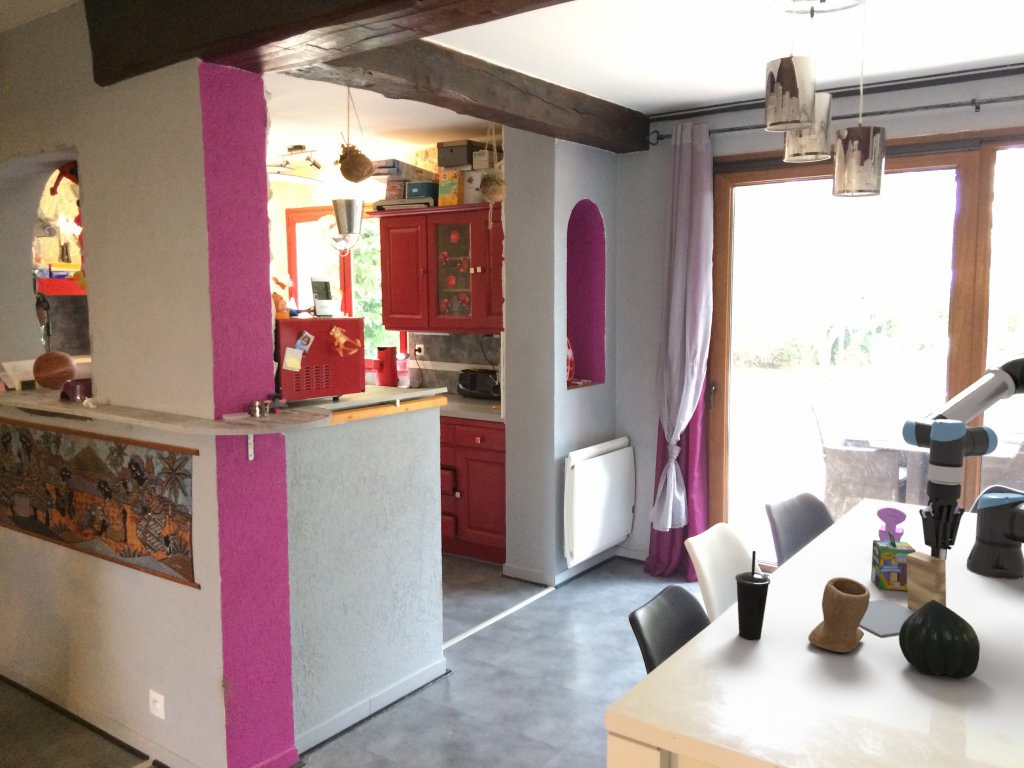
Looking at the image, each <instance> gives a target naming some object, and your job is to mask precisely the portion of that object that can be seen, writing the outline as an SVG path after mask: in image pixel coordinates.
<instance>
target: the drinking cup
mask: <svg viewBox="0 0 1024 768" xmlns="http://www.w3.org/2000/svg"><path fill="white" fill-rule="evenodd" d="M751 553H752V555H751V556H752V557H751V571H745V572H741V573H738V574H736V575H735V577H734V578H735V581H736V593H737V598H736V599H737V616H738V619H737V620H738V635H739V637H741V638H742V639H744V640H749V641H758V640H761V637H762V632H763V624H764V618H765V612H766V605H767V598H768V591H769V585H771V579H770V578H769V577H768V576H765V575H763V573H759V572H756V570H755V569H756V551H755V550H752V552H751Z"/></svg>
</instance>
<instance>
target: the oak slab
mask: <svg viewBox="0 0 1024 768" xmlns="http://www.w3.org/2000/svg"><path fill="white" fill-rule="evenodd" d="M946 564H947V563H946V561H945V560H942V559H939V558H936V557H933V556H931V554H927V553H925V552H922V551H916V552H914V553H911V554H907V608H909V609H911V610H913V611H915V612H916V611H917V610H918V609H920V608H921V607H922V606H923V605H924V604H926V603H927V602H929V601H931V600H935V601H937V602H939V603H941V604H943V605H944V606H946V607H947V580H946V579H947V578H946V577H947V575H946V571H947V570H946V569H947V568H946V567H947V566H946Z"/></svg>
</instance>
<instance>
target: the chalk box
mask: <svg viewBox="0 0 1024 768" xmlns="http://www.w3.org/2000/svg"><path fill="white" fill-rule="evenodd" d="M888 534H889V538H890V541H880V539H879V540H876V539H873V541H872V553H871V554H872V556H871V575H870V580H872V582H873V584H875V586H876V587H877V589H878V588H879V590H892V591H905V592H906V591H907V554H911V553H914V552H917V551H916V549H915V548H913V547H912V546H911V545H910V544H909V543H908V542H905V541H900V542H896V541H895V540H894V536H893V534H892V533H891V532H890V531H888ZM891 537H892V538H891ZM892 539H893V541H892ZM907 592H908V591H907Z"/></svg>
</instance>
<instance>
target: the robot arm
mask: <svg viewBox="0 0 1024 768" xmlns="http://www.w3.org/2000/svg"><path fill="white" fill-rule="evenodd" d="M1019 394H1020V395H1021V394H1024V353H1021V354H1016V355H1013V356H1010V357H1008V358H1005V359H1003V360H1001V361H998V362H997V363H995V364H993V365H992V366H990V367H988V368H987V369H986V370H985V371H983V372H982V374H981V375H980V378H979V379H978V380H976V381H975V382H973V384H971V385H969V386H968V387H967V388H965V389H964V390H962V391H961V392H959V393H958V394H957V395H955V396H953V397H952V398H951V399H950V400H948V401H946V403H944V404H942V405H941V406H939V408H936V410H934V411H933V412H931V413H930V414H929V415H927V416H925V417H924V418H921V417H916V418H915V417H911V418H909V419H907V420H906V421H905V423H904V424H903V426H902V432H901V433H902V437H903V440H904V442H905V443H907V444H908V445H912V446H915V447H917V448H925V449H929V459H928V470H927V471H928V472H927V479H928V481H927V482H926V495H927V496H928V502H927V505H926V506H927V507H925V508H924V509H922V508H921V509H919V512H918V513H919V515H920V517H921V525H922V531H923V539H924V540H923V542H924V545H926V546H928V547H930V556H933V557H936V558H939V559H942V560H945V562H946V560H947V556H948V555H947V554H948V550H949V551H950V550H952V548H953V547H952V546H955V543H956V539H957V535H958V531H959V528H960V525H961V520H962V517H963V515H964V513H965V511H966V509H965V508H962V507H960V506H959V503H958V500H959V499H961V495H962V494H961V493H962V485H961V484H960V483H962V481H963V469H964V467H963V466H964V458H966V457H967V458H968V457H981V456H982V457H984V456H985V455H991V453H993V452H994V451H995V450H996V449H997V447H998V442H999V439H998V435H997V434H996V432H995V430H993V429H992V428H990V427H988V426H985V425H975V426H974V425H967V424H969V423H970V422H971V421H973V420H974V419H975V418H977V417H978V416H980V414H982V413H983V412H985V411H987V410H988V409H989V408H991V407H993V405H995V404H996V403H997V402H999V401H1000V400H1006V399H1009V398H1011V397H1012V396H1014V395H1019ZM977 504H978V505H977V508H976V511H977V514H976V527H975V541H974V544H973V546H972V548H971V550H970V552H969V555H968V557H967V559H966V568H967V569H968V570H970V571H972V572H974V573H976V574H979V575H982V576H986V575H987V577H990V576H991V578H995V577H996V578H997V579H1002V578H1005V579H1004V580H1020V579H1019V578H1022V579H1024V578H1023V577H1024V553H1023V549H1022V546H1023V544H1024V495H1023V494H1020V493H1009V492H1007V493H1005V492H1004V493H1003V492H991V493H984V494H982V495H981V496H980V497H979V498H978V503H977Z"/></svg>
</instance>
